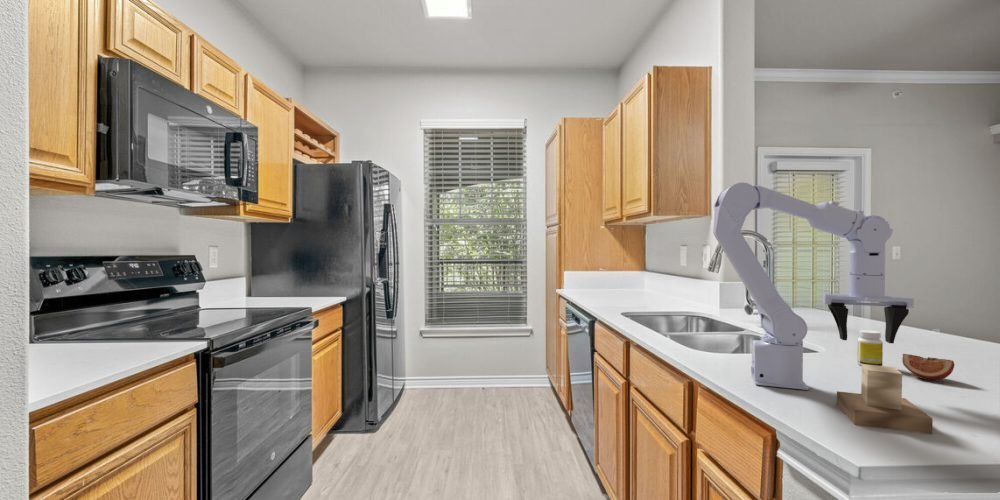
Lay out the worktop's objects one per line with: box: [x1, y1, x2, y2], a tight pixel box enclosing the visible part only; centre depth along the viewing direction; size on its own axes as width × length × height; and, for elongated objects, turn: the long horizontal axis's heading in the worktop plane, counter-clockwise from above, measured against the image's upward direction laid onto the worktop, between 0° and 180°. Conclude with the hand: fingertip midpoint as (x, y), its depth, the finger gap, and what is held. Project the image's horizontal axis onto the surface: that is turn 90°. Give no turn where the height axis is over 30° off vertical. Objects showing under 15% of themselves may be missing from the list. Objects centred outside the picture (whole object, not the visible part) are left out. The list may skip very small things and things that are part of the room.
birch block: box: [860, 364, 903, 410], centre depth 78 cm, size 4×4×6 cm
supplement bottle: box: [857, 329, 884, 367], centre depth 111 cm, size 5×5×8 cm
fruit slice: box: [901, 353, 955, 381], centre depth 101 cm, size 8×7×5 cm
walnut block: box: [836, 390, 933, 435], centre depth 78 cm, size 10×10×3 cm
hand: (866, 340), depth 94 cm, fingers open, 7 cm apart
